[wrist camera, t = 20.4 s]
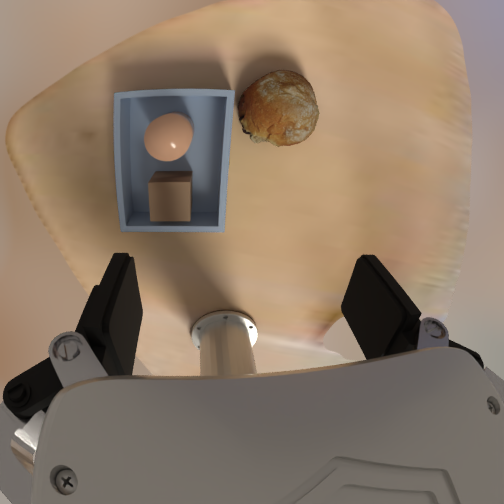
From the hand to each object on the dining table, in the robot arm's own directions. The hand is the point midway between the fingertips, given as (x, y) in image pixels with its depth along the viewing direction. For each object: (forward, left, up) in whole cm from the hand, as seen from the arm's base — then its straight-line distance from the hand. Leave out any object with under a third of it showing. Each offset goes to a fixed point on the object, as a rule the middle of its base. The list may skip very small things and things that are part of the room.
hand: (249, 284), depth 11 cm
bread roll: (+6, -7, -29) cm, 30 cm away
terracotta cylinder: (+2, +6, -28) cm, 28 cm away
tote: (-1, +6, -28) cm, 29 cm away
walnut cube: (-6, +6, -28) cm, 29 cm away
